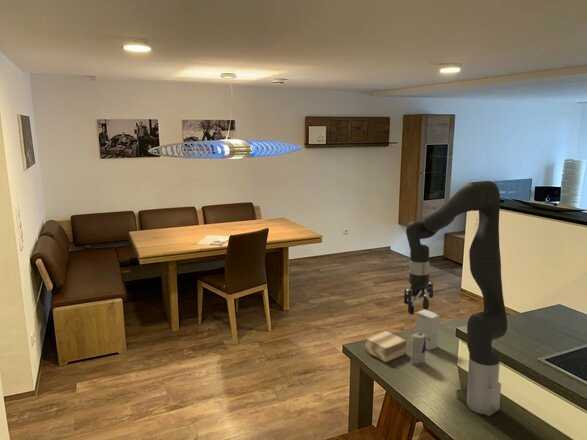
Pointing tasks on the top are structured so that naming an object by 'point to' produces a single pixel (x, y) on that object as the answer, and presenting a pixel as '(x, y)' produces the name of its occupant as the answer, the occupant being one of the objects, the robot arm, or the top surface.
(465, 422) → the top surface
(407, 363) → the top surface
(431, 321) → the skincare box
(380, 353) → the birch block
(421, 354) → the energy drink
